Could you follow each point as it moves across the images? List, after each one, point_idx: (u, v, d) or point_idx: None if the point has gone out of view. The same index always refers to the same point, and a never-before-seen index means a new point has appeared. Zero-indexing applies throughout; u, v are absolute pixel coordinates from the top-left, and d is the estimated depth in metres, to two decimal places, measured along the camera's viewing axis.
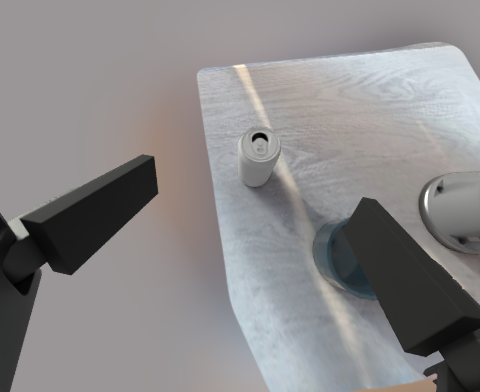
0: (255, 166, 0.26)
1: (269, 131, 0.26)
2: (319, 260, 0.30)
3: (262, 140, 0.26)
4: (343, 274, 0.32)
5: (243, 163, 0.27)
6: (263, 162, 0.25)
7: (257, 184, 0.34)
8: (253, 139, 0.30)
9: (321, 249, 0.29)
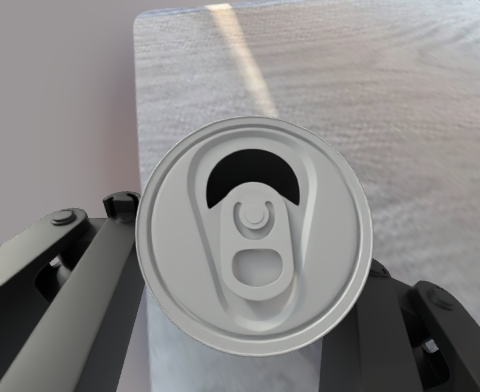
0: None
1: (305, 144, 0.05)
2: None
3: (267, 196, 0.04)
4: None
5: None
6: None
7: None
8: (234, 164, 0.09)
9: None
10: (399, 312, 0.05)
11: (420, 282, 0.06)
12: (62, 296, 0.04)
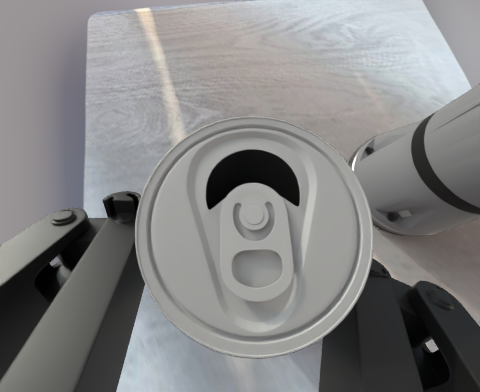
0: None
1: (305, 145, 0.05)
2: None
3: (267, 197, 0.04)
4: None
5: None
6: None
7: None
8: (234, 165, 0.09)
9: None
10: (399, 312, 0.05)
11: (420, 283, 0.06)
12: (62, 296, 0.04)
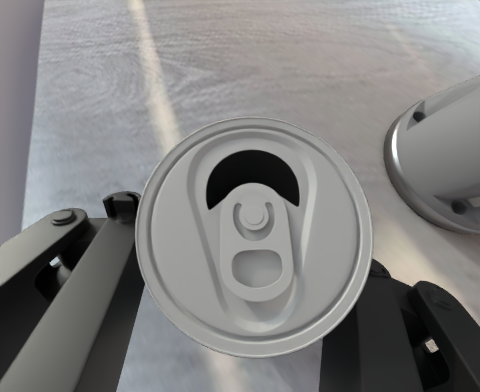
0: None
1: (305, 145, 0.05)
2: None
3: (267, 197, 0.04)
4: None
5: None
6: None
7: None
8: (234, 165, 0.09)
9: None
10: (399, 312, 0.05)
11: (420, 283, 0.06)
12: (62, 296, 0.04)
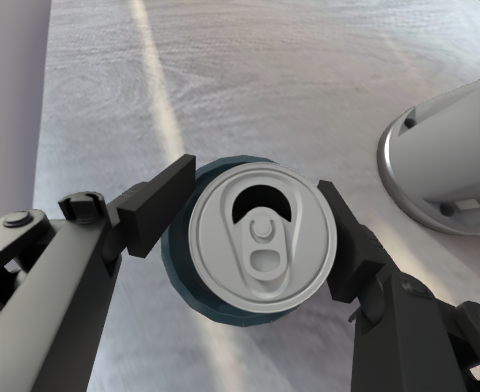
0: None
1: (295, 181, 0.07)
2: None
3: (271, 216, 0.07)
4: None
5: None
6: None
7: None
8: None
9: None
10: (447, 339, 0.05)
11: (467, 303, 0.06)
12: (12, 305, 0.04)
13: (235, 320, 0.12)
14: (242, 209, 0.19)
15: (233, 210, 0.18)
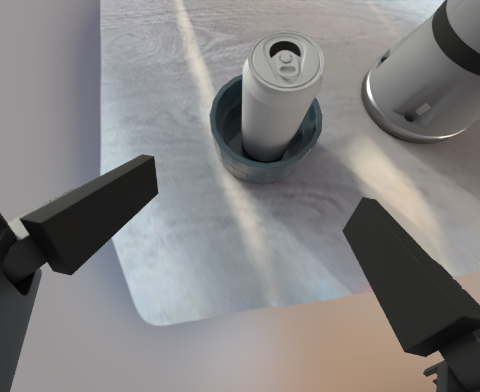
0: (275, 104, 0.14)
1: (302, 39, 0.14)
2: None
3: (290, 54, 0.13)
4: None
5: (252, 103, 0.15)
6: (293, 93, 0.13)
7: (271, 155, 0.22)
8: None
9: None
10: None
11: None
12: None
13: (262, 164, 0.18)
14: None
15: None
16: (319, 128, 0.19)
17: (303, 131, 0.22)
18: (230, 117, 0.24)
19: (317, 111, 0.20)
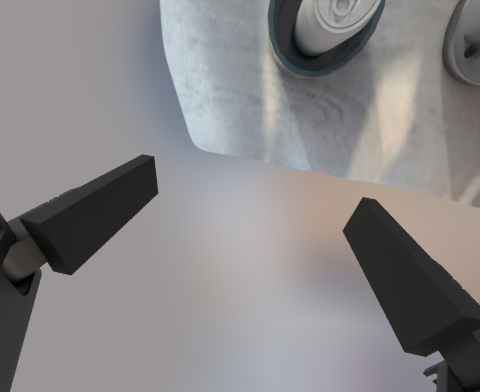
0: (319, 34, 0.17)
1: None
2: None
3: None
4: (294, 55, 0.26)
5: (305, 19, 0.17)
6: (334, 33, 0.16)
7: (311, 54, 0.24)
8: None
9: None
10: None
11: None
12: None
13: (295, 69, 0.23)
14: None
15: None
16: (361, 46, 0.21)
17: (355, 34, 0.23)
18: None
19: (373, 23, 0.20)
